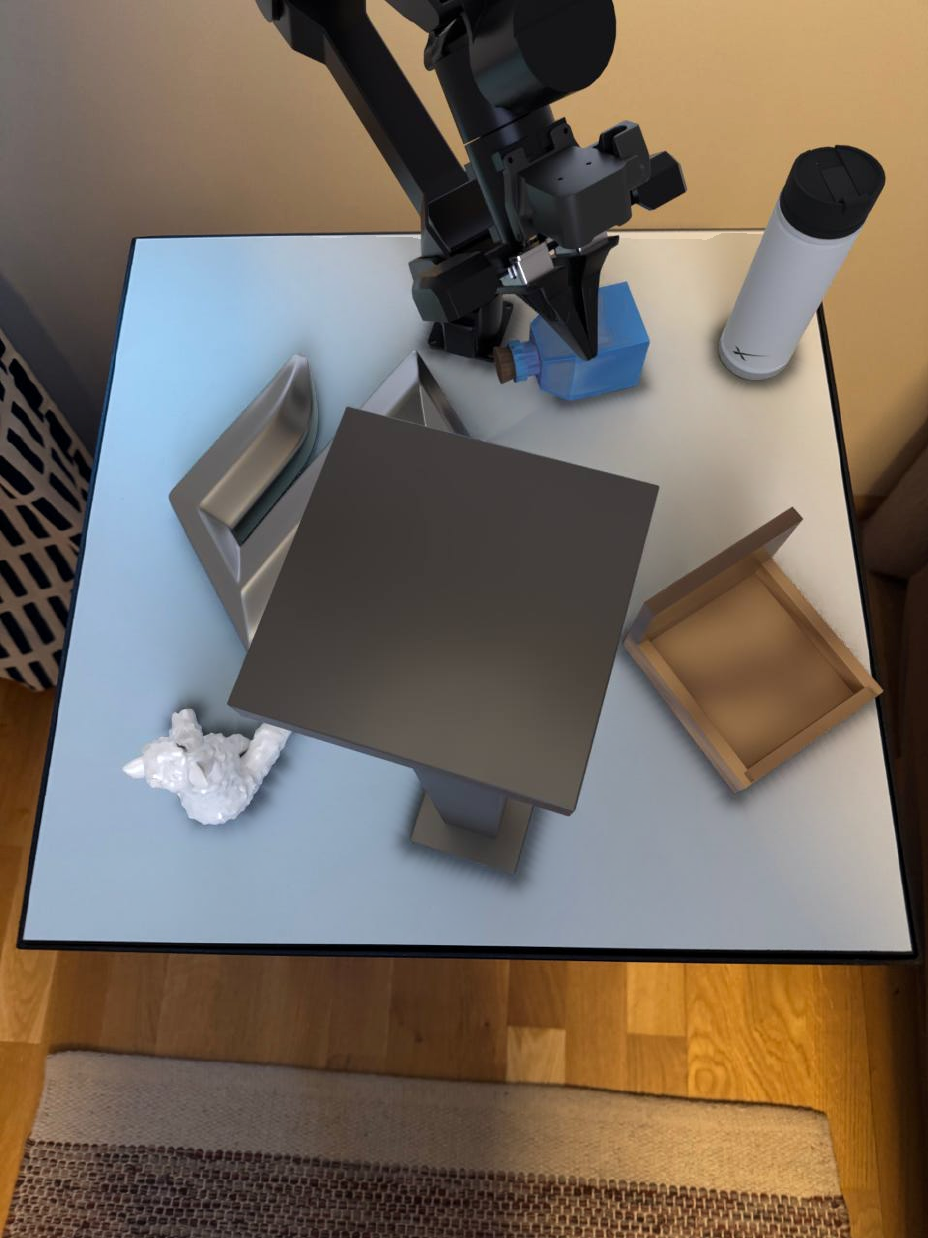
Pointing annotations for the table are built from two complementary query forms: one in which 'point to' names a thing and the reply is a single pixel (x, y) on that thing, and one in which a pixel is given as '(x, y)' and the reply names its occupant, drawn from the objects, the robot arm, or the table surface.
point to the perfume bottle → (561, 365)
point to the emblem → (278, 479)
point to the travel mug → (799, 256)
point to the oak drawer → (747, 658)
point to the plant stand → (452, 622)
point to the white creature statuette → (209, 766)
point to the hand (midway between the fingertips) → (590, 358)
